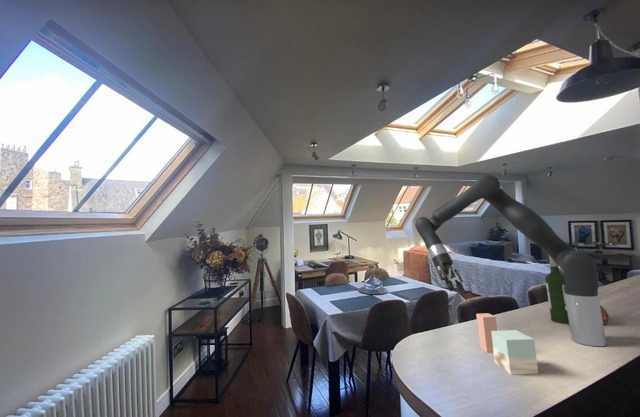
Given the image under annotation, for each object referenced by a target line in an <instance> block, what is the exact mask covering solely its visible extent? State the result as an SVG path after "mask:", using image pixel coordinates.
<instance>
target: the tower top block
mask: <svg viewBox="0 0 640 417" xmlns="http://www.w3.org/2000/svg"><path fill="white" fill-rule="evenodd" d="M491 333H492V341H493V347H494V348H496V349H497V350H499V351H500V352H501V353H503V354H504V355H506V356H507V357H536V358H537V352H536V346H535V339H534V338H532V337H530V336H529V335H526V334H525V333H522V331H521V332H520V331H519V330H516V329H513V330H511V329H510V330H507V329H505V330H497V331H491Z"/></svg>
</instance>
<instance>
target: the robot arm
mask: <svg viewBox="0 0 640 417" xmlns="http://www.w3.org/2000/svg"><path fill="white" fill-rule="evenodd" d="M500 185H501V183H500V180H499V178H498V177H496V176H495V175H490V174H487V175H486V174H485V175H482V176H480V177H479V178H478V179H477V180H476V181H474V182H473V184H472V185H471V186H469V187H468V188H467V189H466V190H464V191H463V192H461V193H460V194H459V195H457V196H456V197H454V198H452V199H451V200H449V201H447V202H446V203H444V204H443V205H441V206H440V207H438V208H437V209H435V210H434V211H433V212H432V216H431V217H430V218H427V217H426V216H420V217H418V218H417V219H416V220H415V223H414V226H415V229H416V231H417V233H418V234H419V236H420V237H421V239H422V241H423V242H424V245H425V247H426V249H427V251H428V255H429V256H430V259H431V261H432V263H433V266H434V267H435V270H436V271H437V272H436V273H437V274H438V276H439V278H440V280H441V281H443V282H444V283H445V285H446V286H447V288H448V290H449V292H453V291H455V290H456V288H457V291H458V293H459V294H463V293H466V290H465V288H464V286H463V284H462V283H464V281H463V279H462V277H461V276H460V273H459V272H458V270H457V269H456V268H455V269H454V268H453V267H452V265H453V264H454V261H453V259H452V257H451V255H450V253H449V251H448V250H447V248H446V246H445V245H444V243H443V241H442V240H441V237H440V236H439V235H438V233H436V231H437V230H439V228H440V227H442V226H443V224H445V223H447V222H448V221H449V220H452V218H454V217H456V216H457V215H459V214H460V213H461V212H462V211H464V210H465V209H466V208H468V207H469V206H471V205H472V204H474V203H475V202H478V201H479V200H482V199H483V200H484V201H486V202H488V203H489V205H491V206H492V207H493V208H495V209H496V210H497V211H498V212H499V213H500V214H501V215H502V216H503V217H504V218H505V219H506V221H508V222H509V223H510V224H511V225H512V226H513V227H514V228H516V230H517V231H519V232H520V233H521V234H522V235H523V236H525V237H526V238H527V239H528V240H530V241H531V242H532V243H534V244H535V245H536V246H538V247H539V248H540V249H542V250H543V251H544V252H545V253H546V254H548V257H549V256H550V257H551V258H552V259H553V260H554V261H555V262H556V263H557V264H558V267H559V269H561V270H562V271H563V275H564V279H565V284H564V294H565V300H566V306H567V313H568V320H569V324H568V326H569V332H570V338H571V340H572V341H573V342H575V343H578V344H581V345H585V346H588V347H589V346H590V347H591V346H592V347H605V346H607V340H606V334H605V327H604V324H603V321H602V315H601V309H600V305H601V303H600V298H599V291H598V290H599V286H600V285H599V276H598V270H597V265H596V262H595V260H594V258H593V257H592V255H590V254H588V253H586V252H583V251H579V250H577V249H576V248H574V247H573V246H571V245H570V244H568V243H567V242H565V241H564V240H563V239H562V238H561V237H559V235H557V233H556V232H555V231H554V230H553V228H552V227H551V226H550V224H548V223H547V222H546V220H545V219H543V218H542V217H541V216H540V215H539V214H538V213H536V212H535V211H534V210H533V209H531V208H530V207H528V206H527V205H525V204H523V203H522V202H520V201H517V200H516V199H514V198H513V197H511V196H510V195H509V194H508V193H507V192H506V191H505V190H503V188H502V187H501V186H500ZM454 285H455V286H456V288H455V286H454Z"/></svg>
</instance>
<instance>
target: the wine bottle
mask: <svg viewBox="0 0 640 417" xmlns="http://www.w3.org/2000/svg"><path fill="white" fill-rule="evenodd" d="M548 258H549V267H550V272H549V273H548V274H547V275H546V276H545V280H544V281H545V287H546V293H547V300H548V305H549V306H548V307H549V314H550V320H551V321H552V322H554V323H557V324H562V325H563V324H564V325H569V320H568V313H567V306H566V300H565V294H564V284H565V279H564V273H563V274H562V273H561V271H560V267H559V266H558V264H557V263H556V262H555V261H554V260H553V259H552V258H551V257H550V256H549V255H548Z"/></svg>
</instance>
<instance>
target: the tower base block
mask: <svg viewBox="0 0 640 417" xmlns="http://www.w3.org/2000/svg"><path fill="white" fill-rule="evenodd" d="M492 353H493V360H494V364H496V365H497V366H499V367H500V368H501V369H503V370H504V372H506V373H508V374H509V375H510V376H511V375H512V376H515V375H539V368H538V362H537V360H538V359H537V356H536V357H507V356H506V355H504V354H503V353H501V352H500V351H499V350H497V349H496V348H494V347H493V352H492Z"/></svg>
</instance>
